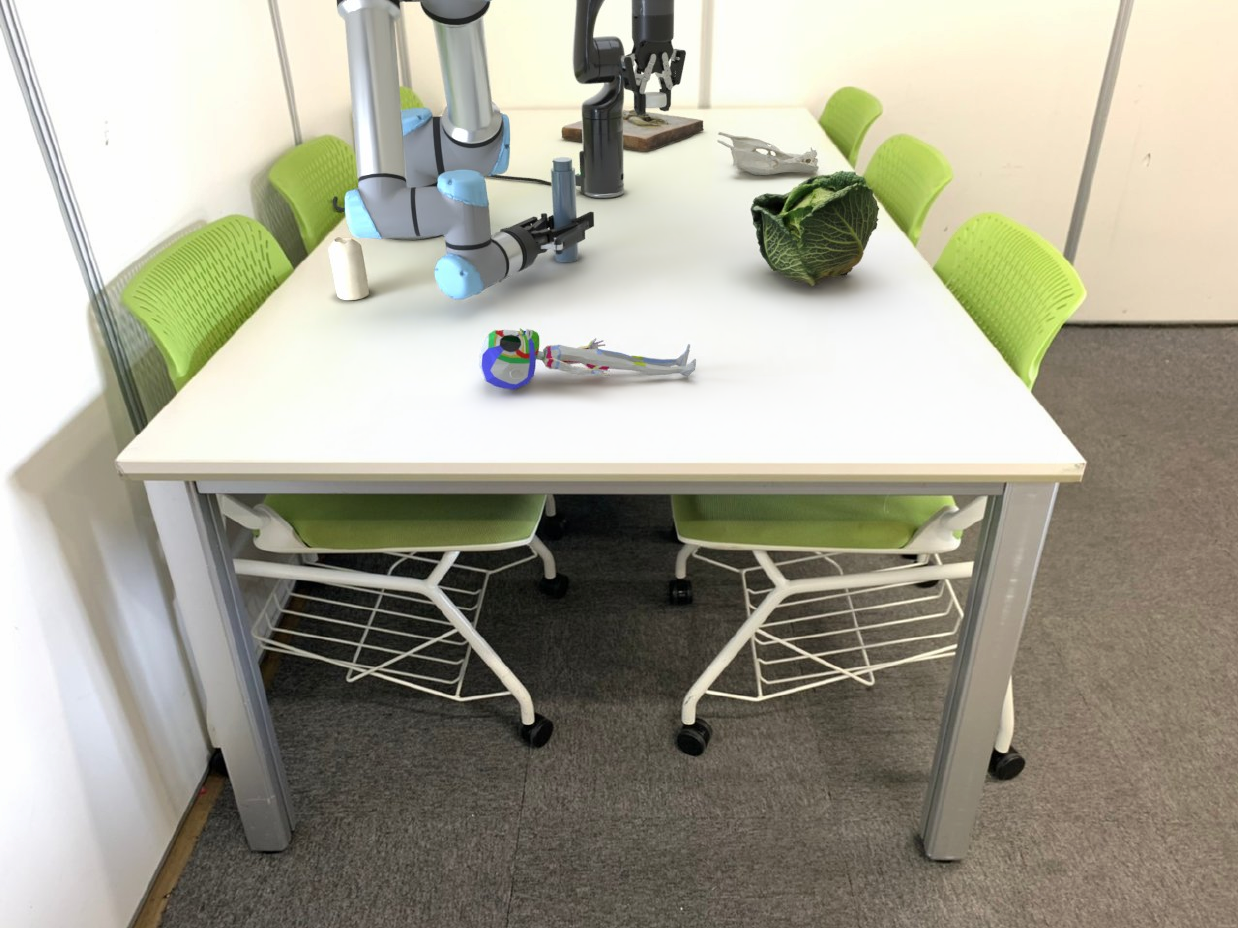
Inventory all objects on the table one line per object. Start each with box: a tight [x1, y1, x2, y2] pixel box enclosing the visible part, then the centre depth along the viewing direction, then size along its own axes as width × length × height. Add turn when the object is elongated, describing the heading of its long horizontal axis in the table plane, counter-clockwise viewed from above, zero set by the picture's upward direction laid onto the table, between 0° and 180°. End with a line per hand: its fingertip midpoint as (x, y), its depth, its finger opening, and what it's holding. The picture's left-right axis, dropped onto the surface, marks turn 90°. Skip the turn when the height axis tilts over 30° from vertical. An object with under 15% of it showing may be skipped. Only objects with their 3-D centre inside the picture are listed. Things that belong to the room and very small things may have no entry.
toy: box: [478, 328, 697, 391], centre depth 127 cm, size 10×8×30 cm
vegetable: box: [749, 170, 880, 287], centre depth 157 cm, size 20×19×20 cm
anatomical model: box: [716, 131, 820, 176], centre depth 220 cm, size 15×9×25 cm
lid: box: [644, 91, 667, 109], centre depth 166 cm, size 5×5×2 cm
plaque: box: [561, 109, 705, 152], centre depth 257 cm, size 30×7×30 cm
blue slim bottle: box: [550, 156, 579, 263], centre depth 167 cm, size 4×4×18 cm
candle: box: [327, 236, 370, 301], centre depth 154 cm, size 6×6×10 cm
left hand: (580, 217), depth 172 cm, fingers closed on blue slim bottle, 4 cm apart
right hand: (652, 112), depth 167 cm, fingers closed on lid, 5 cm apart
